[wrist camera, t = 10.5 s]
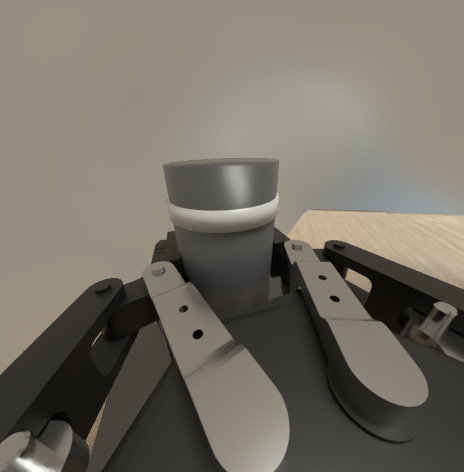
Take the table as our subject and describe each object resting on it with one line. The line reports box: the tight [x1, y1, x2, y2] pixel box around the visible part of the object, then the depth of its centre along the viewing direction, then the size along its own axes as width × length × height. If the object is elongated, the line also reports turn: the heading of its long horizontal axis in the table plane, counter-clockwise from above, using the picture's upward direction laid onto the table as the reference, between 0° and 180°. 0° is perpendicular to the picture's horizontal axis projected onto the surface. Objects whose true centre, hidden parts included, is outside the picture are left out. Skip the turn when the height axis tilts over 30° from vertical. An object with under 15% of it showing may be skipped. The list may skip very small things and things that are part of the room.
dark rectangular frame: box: [87, 275, 283, 472], centre depth 13 cm, size 14×10×4 cm
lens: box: [163, 158, 279, 312], centre depth 10 cm, size 5×5×12 cm
